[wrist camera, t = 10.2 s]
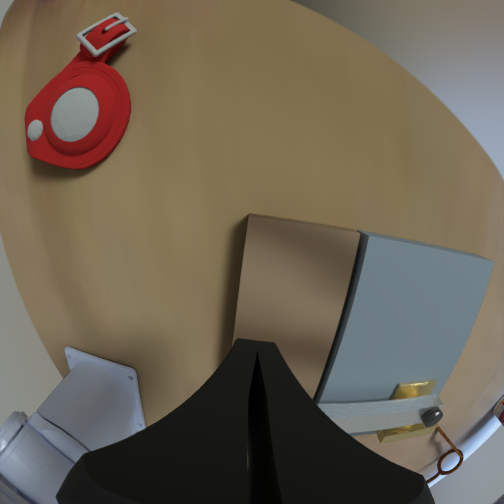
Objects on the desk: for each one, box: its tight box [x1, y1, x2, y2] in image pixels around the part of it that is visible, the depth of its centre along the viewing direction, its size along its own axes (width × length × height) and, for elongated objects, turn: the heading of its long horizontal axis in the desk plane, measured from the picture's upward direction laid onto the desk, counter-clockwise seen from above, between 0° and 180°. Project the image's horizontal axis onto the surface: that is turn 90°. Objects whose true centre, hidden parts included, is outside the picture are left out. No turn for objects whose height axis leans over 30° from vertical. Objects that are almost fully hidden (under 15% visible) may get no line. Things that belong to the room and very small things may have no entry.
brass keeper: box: [376, 379, 438, 443], centre depth 17 cm, size 4×6×3 cm
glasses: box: [426, 426, 463, 484], centre depth 22 cm, size 13×13×5 cm
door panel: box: [313, 230, 494, 436], centre depth 18 cm, size 18×13×2 cm
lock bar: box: [317, 394, 444, 433], centre depth 16 cm, size 15×3×2 cm, turn 83°
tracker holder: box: [25, 12, 137, 169], centre depth 14 cm, size 12×4×10 cm
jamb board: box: [232, 213, 360, 400], centre depth 18 cm, size 18×7×3 cm, turn 172°
